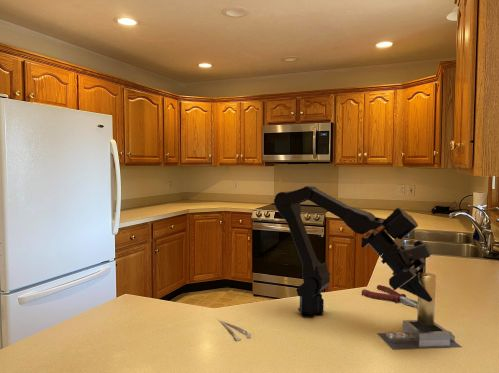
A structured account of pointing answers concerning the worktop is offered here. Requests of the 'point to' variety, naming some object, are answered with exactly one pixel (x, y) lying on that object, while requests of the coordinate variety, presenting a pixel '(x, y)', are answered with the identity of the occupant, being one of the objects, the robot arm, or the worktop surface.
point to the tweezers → (236, 329)
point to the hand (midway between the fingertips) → (432, 298)
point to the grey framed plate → (421, 335)
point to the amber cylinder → (424, 307)
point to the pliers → (389, 296)
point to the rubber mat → (411, 344)
